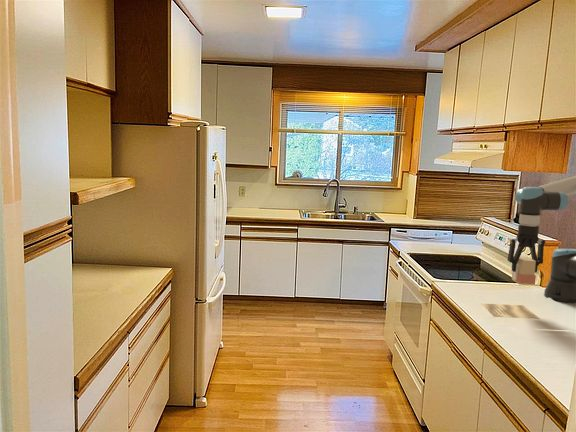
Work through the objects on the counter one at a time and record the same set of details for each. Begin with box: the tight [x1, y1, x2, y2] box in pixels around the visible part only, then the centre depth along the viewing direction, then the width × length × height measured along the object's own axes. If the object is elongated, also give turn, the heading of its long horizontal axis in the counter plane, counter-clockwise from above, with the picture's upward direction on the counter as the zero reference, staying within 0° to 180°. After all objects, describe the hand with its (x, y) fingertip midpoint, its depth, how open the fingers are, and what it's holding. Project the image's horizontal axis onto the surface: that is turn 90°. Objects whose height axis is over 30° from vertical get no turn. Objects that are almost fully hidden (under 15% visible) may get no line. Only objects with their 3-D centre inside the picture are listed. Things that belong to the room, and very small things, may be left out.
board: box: [481, 303, 541, 320], centre depth 200 cm, size 18×16×1 cm
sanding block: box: [511, 256, 537, 286], centre depth 198 cm, size 6×8×10 cm
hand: (523, 279), depth 199 cm, fingers closed on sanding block, 6 cm apart
